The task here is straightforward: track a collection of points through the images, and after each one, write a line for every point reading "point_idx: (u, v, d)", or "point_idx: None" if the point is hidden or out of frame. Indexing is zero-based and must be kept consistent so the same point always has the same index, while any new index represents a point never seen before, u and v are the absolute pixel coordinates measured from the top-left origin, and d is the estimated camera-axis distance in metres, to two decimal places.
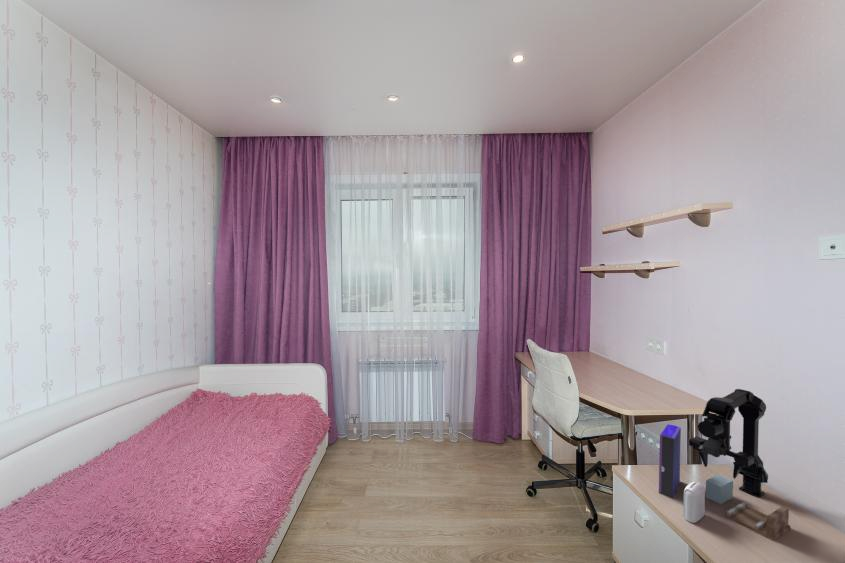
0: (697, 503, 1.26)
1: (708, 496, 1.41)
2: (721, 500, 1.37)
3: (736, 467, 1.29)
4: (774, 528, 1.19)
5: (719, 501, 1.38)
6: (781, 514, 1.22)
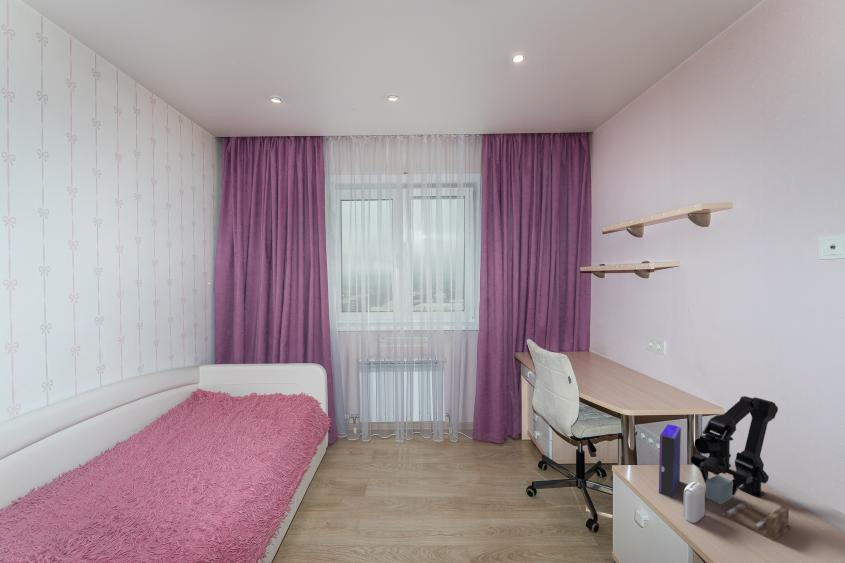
0: (697, 503, 1.26)
1: (708, 496, 1.41)
2: (721, 500, 1.37)
3: (735, 484, 1.36)
4: (774, 528, 1.19)
5: (719, 501, 1.38)
6: (781, 514, 1.22)
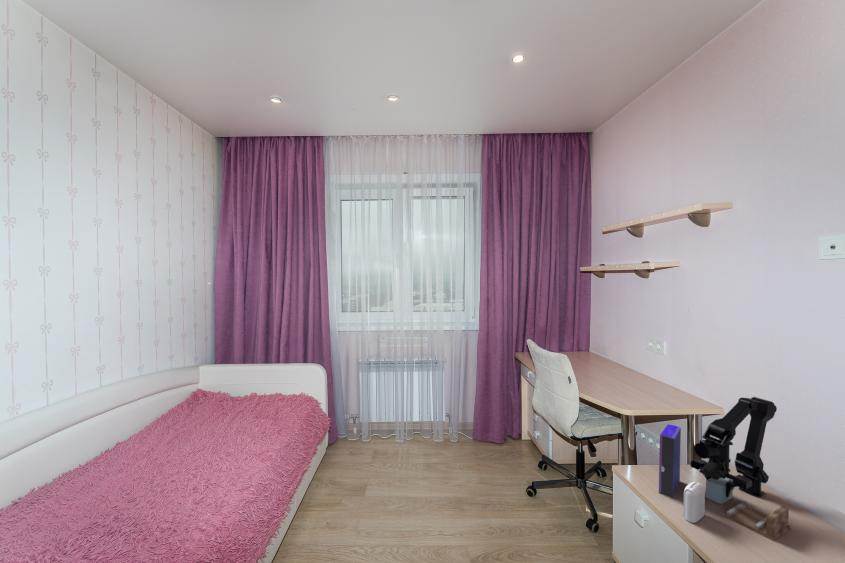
0: (697, 503, 1.26)
1: (708, 496, 1.41)
2: (721, 500, 1.37)
3: (729, 487, 1.38)
4: (774, 528, 1.19)
5: (719, 501, 1.38)
6: (781, 514, 1.22)
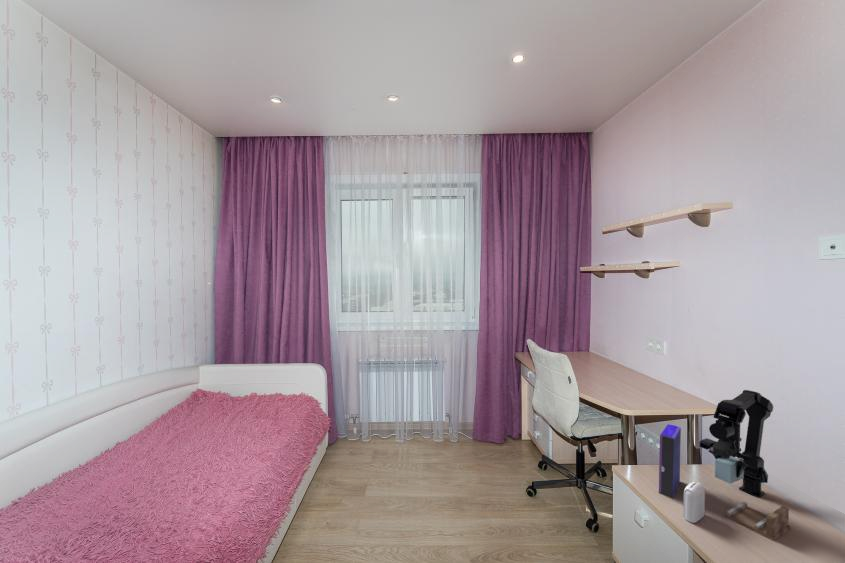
0: (697, 503, 1.26)
1: (717, 476, 1.36)
2: (731, 479, 1.33)
3: (739, 466, 1.33)
4: (774, 528, 1.19)
5: (729, 481, 1.33)
6: (781, 514, 1.22)
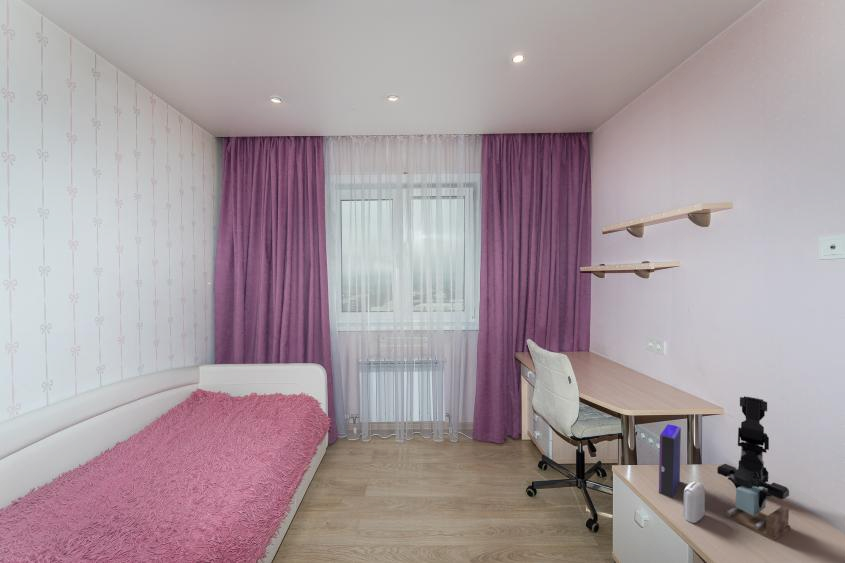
0: (697, 503, 1.26)
1: (739, 506, 1.28)
2: (753, 510, 1.24)
3: (762, 496, 1.25)
4: (774, 528, 1.19)
5: (752, 512, 1.24)
6: (781, 514, 1.22)
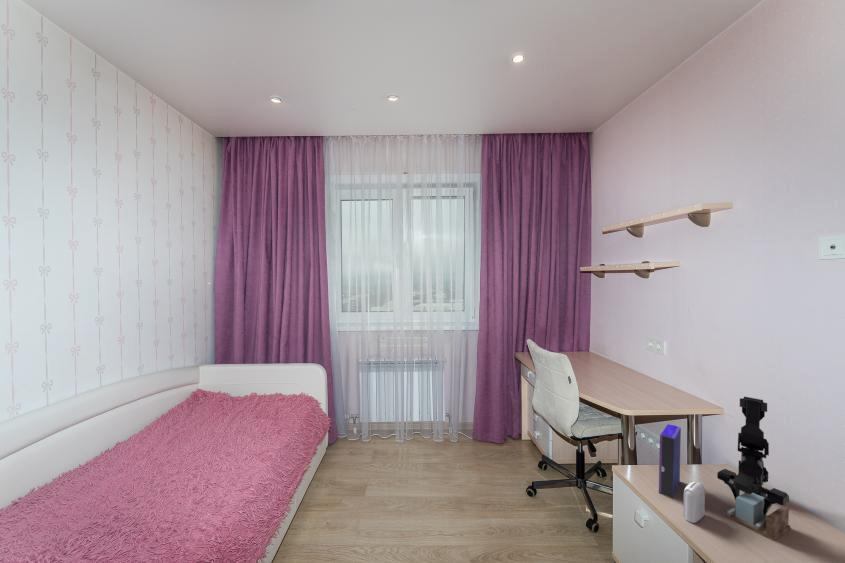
0: (697, 503, 1.26)
1: (738, 515, 1.28)
2: (753, 520, 1.24)
3: (767, 504, 1.23)
4: (774, 528, 1.19)
5: (751, 522, 1.24)
6: (781, 514, 1.22)
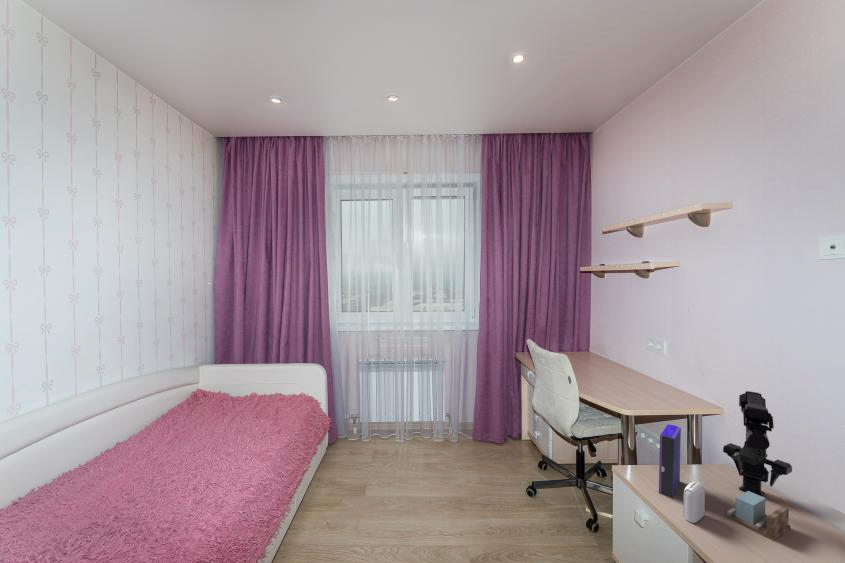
0: (697, 503, 1.26)
1: (738, 515, 1.28)
2: (753, 520, 1.24)
3: (773, 475, 1.29)
4: (774, 528, 1.19)
5: (751, 522, 1.24)
6: (781, 514, 1.22)
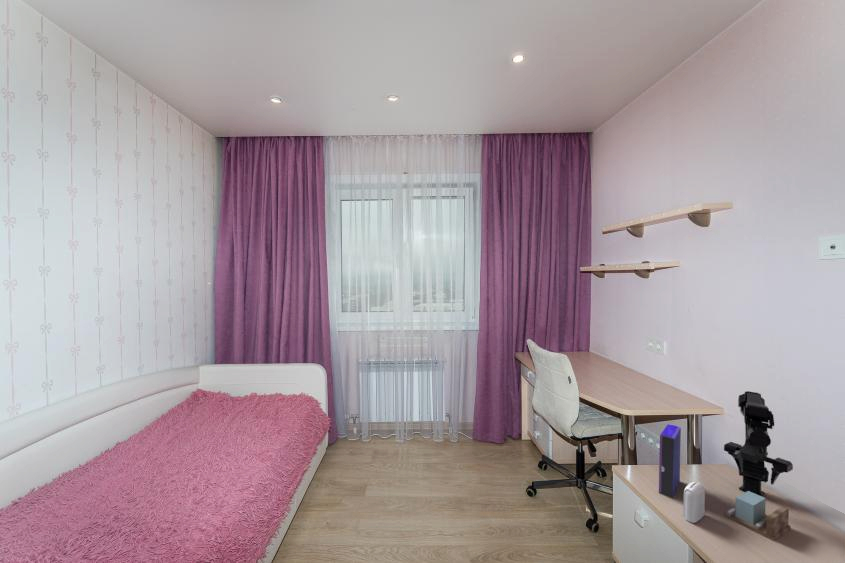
0: (697, 503, 1.26)
1: (738, 515, 1.28)
2: (753, 520, 1.24)
3: (774, 473, 1.29)
4: (774, 528, 1.19)
5: (751, 522, 1.24)
6: (781, 514, 1.22)
